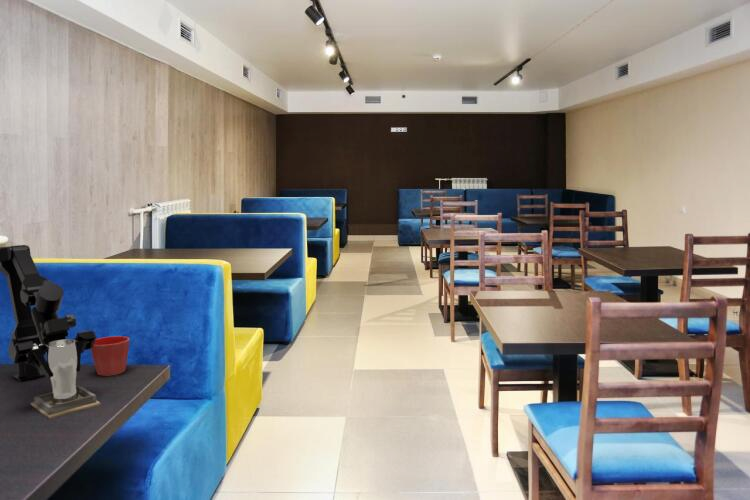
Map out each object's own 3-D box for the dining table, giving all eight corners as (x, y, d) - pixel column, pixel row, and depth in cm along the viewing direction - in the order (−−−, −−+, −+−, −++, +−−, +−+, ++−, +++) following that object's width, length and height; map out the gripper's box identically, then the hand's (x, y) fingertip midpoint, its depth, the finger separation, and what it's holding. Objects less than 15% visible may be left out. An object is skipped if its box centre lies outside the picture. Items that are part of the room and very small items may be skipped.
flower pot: (102, 366, 183) (100, 335, 182) (137, 366, 183) (135, 335, 182) (84, 377, 173) (81, 345, 172) (121, 377, 172) (119, 345, 171)
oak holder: (30, 404, 153) (29, 395, 152) (79, 392, 161) (79, 383, 161) (49, 418, 143) (48, 409, 143) (100, 404, 151) (100, 396, 151)
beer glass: (61, 407, 148) (56, 348, 145) (43, 401, 151) (39, 344, 149) (86, 397, 154) (82, 341, 151) (68, 392, 157) (64, 337, 155)
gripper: (11, 311, 145) (27, 365, 139) (91, 300, 158) (109, 349, 152) (5, 337, 152) (21, 389, 146) (83, 324, 165) (100, 371, 158)
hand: (64, 374), depth 150 cm, fingers closed on beer glass, 6 cm apart
